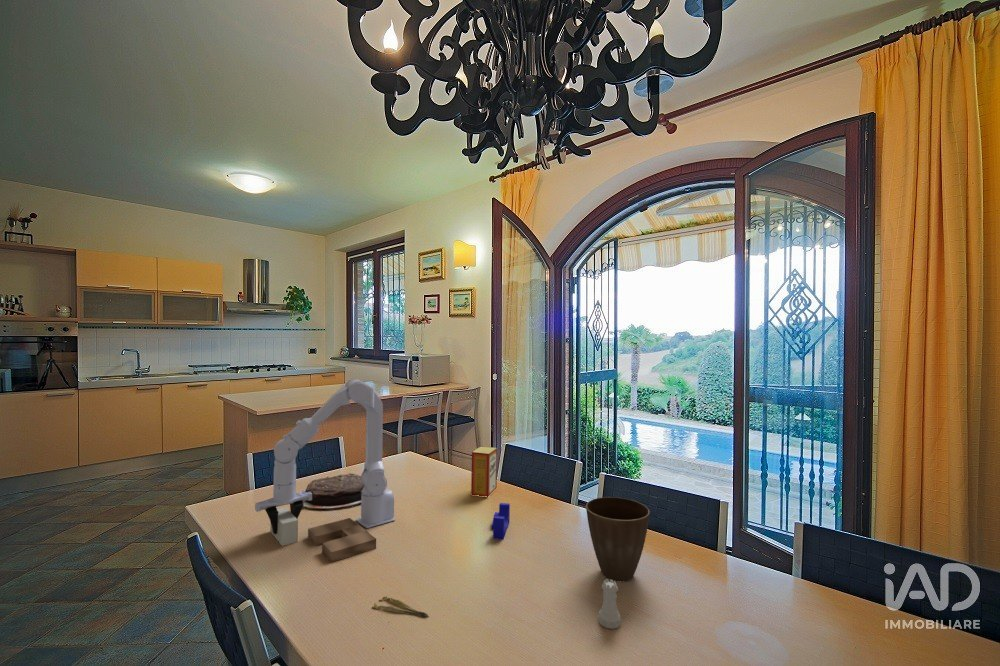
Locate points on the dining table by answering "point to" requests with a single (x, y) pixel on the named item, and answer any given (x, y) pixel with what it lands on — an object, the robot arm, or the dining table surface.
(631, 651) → the dining table surface
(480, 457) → the baking soda box
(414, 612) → the tongs
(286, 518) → the grey rubber bar
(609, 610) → the rook chess piece
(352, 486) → the chocolate cake
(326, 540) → the notched shelf
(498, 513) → the cable clip
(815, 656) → the dining table surface
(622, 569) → the plant pot
